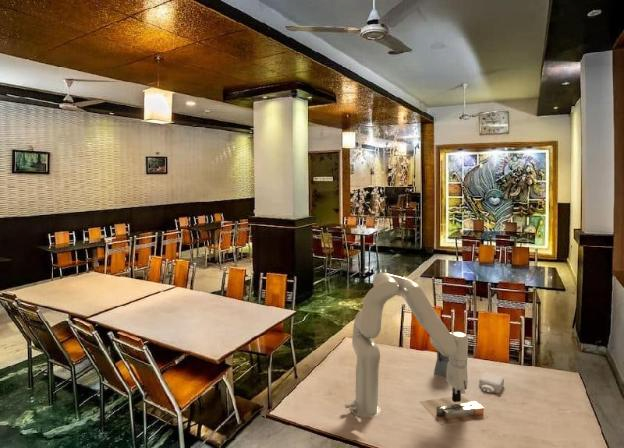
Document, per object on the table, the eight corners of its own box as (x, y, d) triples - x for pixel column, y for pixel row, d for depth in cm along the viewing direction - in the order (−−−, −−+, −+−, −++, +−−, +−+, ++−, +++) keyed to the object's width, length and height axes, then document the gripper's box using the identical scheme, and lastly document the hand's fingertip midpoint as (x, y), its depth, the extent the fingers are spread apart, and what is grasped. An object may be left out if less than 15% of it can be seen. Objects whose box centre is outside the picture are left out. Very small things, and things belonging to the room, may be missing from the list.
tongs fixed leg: (447, 420, 169) (447, 413, 169) (444, 416, 172) (444, 409, 171) (483, 414, 173) (483, 407, 173) (479, 411, 176) (480, 404, 175)
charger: (475, 393, 194) (483, 380, 206) (496, 399, 188) (503, 386, 200) (475, 383, 193) (484, 371, 205) (496, 389, 188) (504, 377, 200)
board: (441, 427, 167) (441, 424, 166) (419, 404, 184) (419, 401, 184) (488, 420, 172) (488, 417, 172) (462, 397, 189) (463, 395, 189)
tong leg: (438, 417, 171) (438, 410, 171) (434, 413, 174) (435, 406, 174) (479, 411, 176) (480, 404, 175) (475, 407, 179) (475, 401, 178)
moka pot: (456, 370, 216) (458, 333, 214) (449, 382, 203) (450, 343, 201) (438, 366, 221) (439, 330, 219) (429, 377, 208) (430, 339, 206)
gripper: (441, 354, 186) (439, 393, 188) (460, 369, 172) (458, 411, 174) (455, 353, 188) (454, 391, 190) (476, 367, 174) (474, 409, 176)
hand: (456, 400), depth 182 cm, fingers closed
